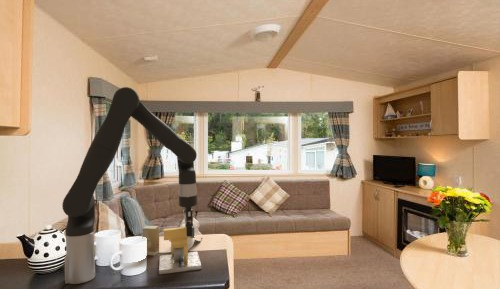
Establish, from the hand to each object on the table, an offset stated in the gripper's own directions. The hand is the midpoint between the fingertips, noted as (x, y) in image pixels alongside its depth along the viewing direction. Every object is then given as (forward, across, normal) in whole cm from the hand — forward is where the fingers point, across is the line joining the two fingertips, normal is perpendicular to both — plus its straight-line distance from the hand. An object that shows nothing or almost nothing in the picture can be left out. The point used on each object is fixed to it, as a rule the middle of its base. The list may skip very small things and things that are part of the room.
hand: (188, 233), depth 129 cm
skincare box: (+13, -16, -16) cm, 26 cm away
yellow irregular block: (+5, 0, -4) cm, 6 cm away
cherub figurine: (+13, -25, 0) cm, 28 cm away
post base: (+12, 0, -4) cm, 13 cm away
